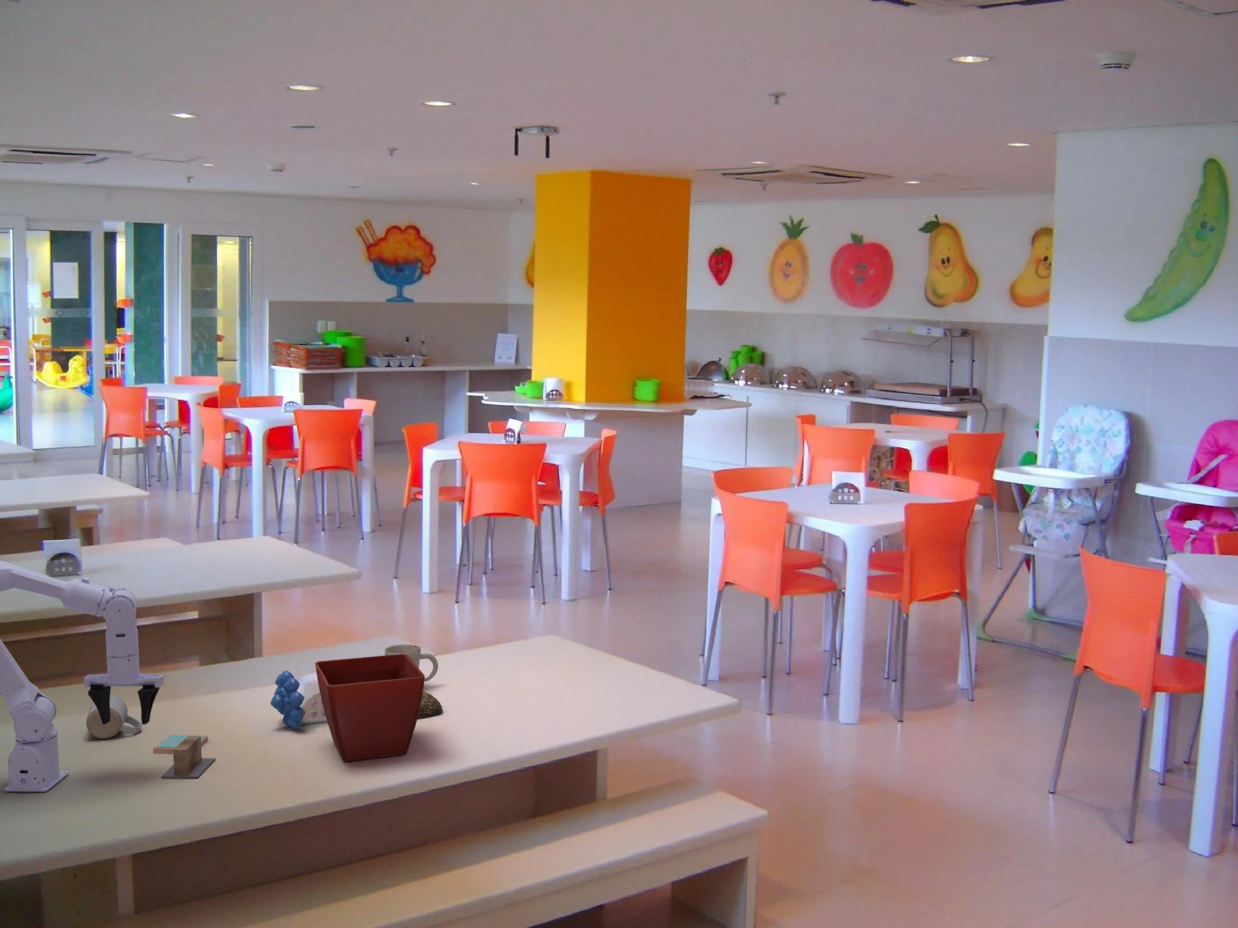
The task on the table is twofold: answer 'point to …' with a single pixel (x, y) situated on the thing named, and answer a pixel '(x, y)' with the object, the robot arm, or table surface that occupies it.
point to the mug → (413, 656)
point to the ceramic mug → (111, 720)
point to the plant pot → (371, 704)
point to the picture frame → (174, 743)
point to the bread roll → (429, 706)
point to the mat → (194, 773)
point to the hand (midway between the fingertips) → (126, 722)
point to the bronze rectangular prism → (187, 755)
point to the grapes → (288, 700)
